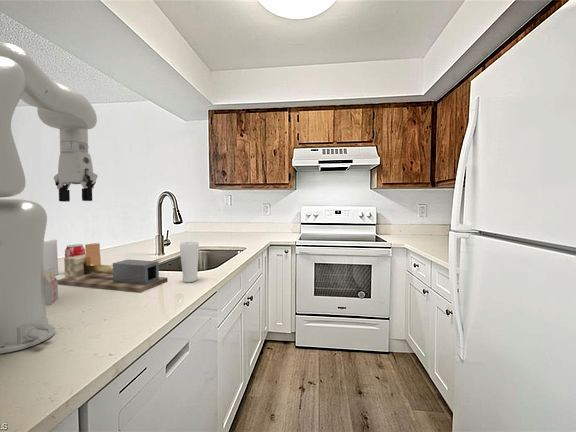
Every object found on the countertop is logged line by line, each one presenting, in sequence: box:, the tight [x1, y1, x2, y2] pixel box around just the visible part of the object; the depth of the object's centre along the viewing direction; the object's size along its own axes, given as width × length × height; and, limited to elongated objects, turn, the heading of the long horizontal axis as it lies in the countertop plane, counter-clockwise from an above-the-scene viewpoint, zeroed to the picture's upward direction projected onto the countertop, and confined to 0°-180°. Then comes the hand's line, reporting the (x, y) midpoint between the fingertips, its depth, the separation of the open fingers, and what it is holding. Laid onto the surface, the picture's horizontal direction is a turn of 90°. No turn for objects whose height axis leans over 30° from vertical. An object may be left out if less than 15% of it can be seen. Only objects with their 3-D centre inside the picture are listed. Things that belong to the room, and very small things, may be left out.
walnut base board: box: [57, 273, 168, 294], centre depth 110 cm, size 38×14×2 cm, turn 75°
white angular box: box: [44, 268, 59, 306], centre depth 90 cm, size 4×7×10 cm, turn 24°
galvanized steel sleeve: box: [112, 259, 160, 285], centre depth 107 cm, size 14×7×7 cm, turn 75°
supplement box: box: [43, 238, 59, 276], centre depth 120 cm, size 9×9×15 cm
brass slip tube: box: [84, 242, 113, 274], centre depth 111 cm, size 22×4×11 cm, turn 75°
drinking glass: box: [179, 241, 200, 283], centre depth 113 cm, size 7×7×15 cm
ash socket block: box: [63, 253, 102, 280], centre depth 114 cm, size 6×10×8 cm, turn 165°
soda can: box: [64, 243, 86, 258], centre depth 125 cm, size 7×7×12 cm
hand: (75, 201), depth 96 cm, fingers open, 9 cm apart
